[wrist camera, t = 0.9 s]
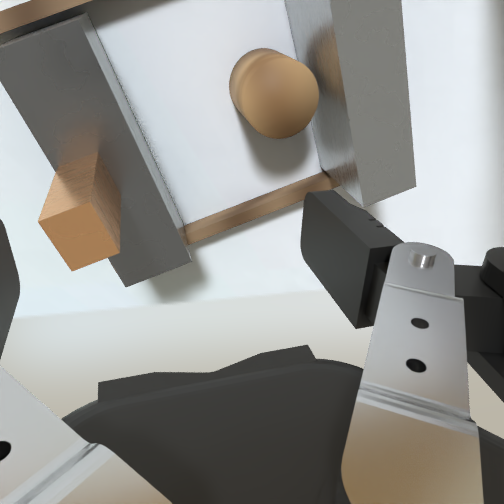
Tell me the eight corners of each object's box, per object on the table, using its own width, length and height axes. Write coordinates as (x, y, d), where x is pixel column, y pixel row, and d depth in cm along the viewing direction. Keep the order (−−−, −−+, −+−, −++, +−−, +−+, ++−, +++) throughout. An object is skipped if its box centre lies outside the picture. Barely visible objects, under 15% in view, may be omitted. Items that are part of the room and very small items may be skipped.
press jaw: (86, 12, 27) (61, 33, 16) (182, 223, 36) (207, 325, 25) (10, 40, 27) (-68, 80, 16) (125, 245, 36) (126, 358, 25)
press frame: (326, -106, 27) (335, -110, 26) (366, 165, 38) (374, 171, 37) (-28, 22, 26) (-35, 24, 25) (117, 263, 37) (116, 273, 36)
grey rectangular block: (330, -77, 28) (393, -95, 21) (364, 149, 37) (416, 186, 30) (272, -56, 28) (318, -67, 21) (320, 166, 37) (363, 207, 30)
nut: (285, 37, 31) (310, 46, 27) (300, 105, 34) (325, 123, 30) (219, 62, 31) (234, 75, 27) (240, 128, 34) (256, 149, 29)
